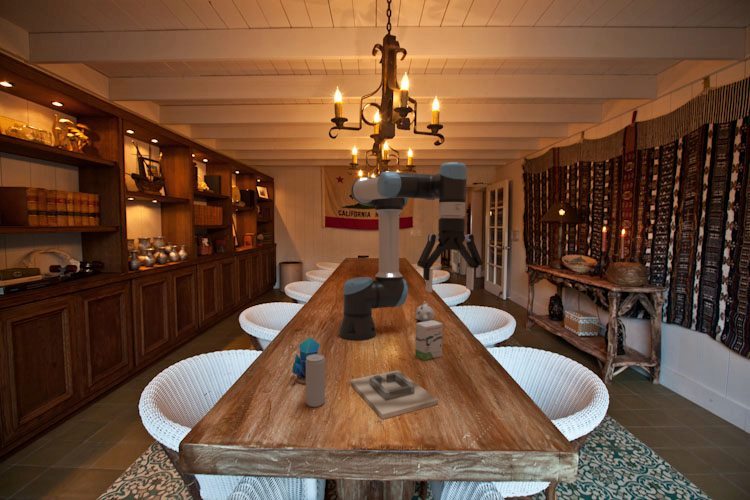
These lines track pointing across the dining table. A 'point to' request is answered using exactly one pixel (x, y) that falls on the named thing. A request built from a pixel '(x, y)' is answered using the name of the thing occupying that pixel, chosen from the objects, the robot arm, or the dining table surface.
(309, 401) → the beverage can
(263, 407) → the dining table surface
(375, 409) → the holder board
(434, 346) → the ink box
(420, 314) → the pale grey lumpy bulb
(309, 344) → the gemstone
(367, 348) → the dining table surface
